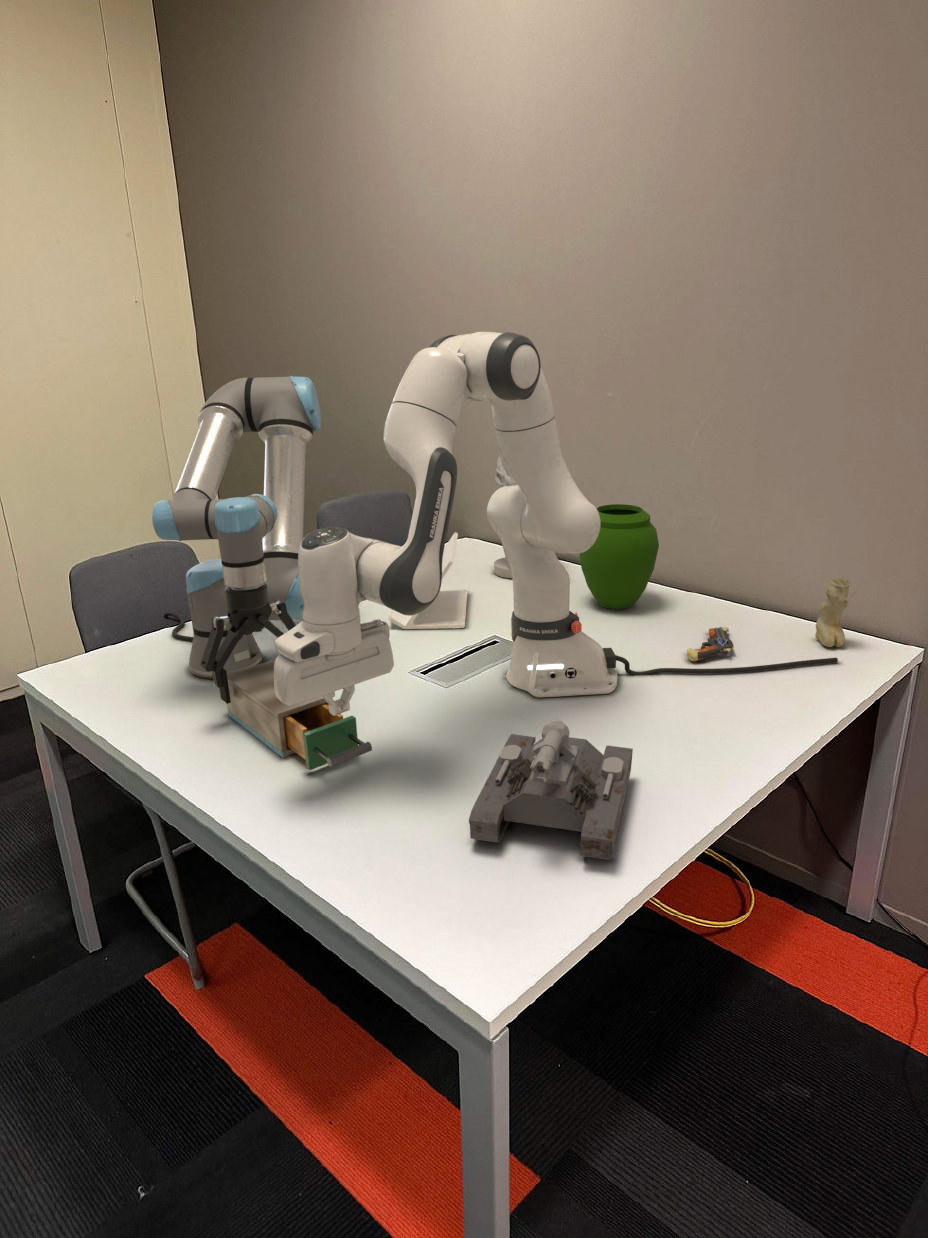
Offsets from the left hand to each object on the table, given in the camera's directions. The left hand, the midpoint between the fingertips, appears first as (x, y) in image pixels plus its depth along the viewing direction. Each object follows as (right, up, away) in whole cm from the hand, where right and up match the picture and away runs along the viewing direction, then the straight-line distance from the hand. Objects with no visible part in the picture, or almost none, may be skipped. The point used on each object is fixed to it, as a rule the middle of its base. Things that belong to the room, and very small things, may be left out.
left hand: (259, 690), depth 162 cm
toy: (+53, -16, -32) cm, 64 cm away
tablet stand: (+31, +15, +52) cm, 62 cm away
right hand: (+19, -2, -24) cm, 31 cm away
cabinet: (+5, -6, -4) cm, 9 cm away
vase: (+77, +17, +52) cm, 95 cm away
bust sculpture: (+56, +26, +77) cm, 98 cm away
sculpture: (+119, +8, +25) cm, 122 cm away
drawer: (+13, -9, -13) cm, 20 cm away
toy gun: (+93, +7, +25) cm, 96 cm away
